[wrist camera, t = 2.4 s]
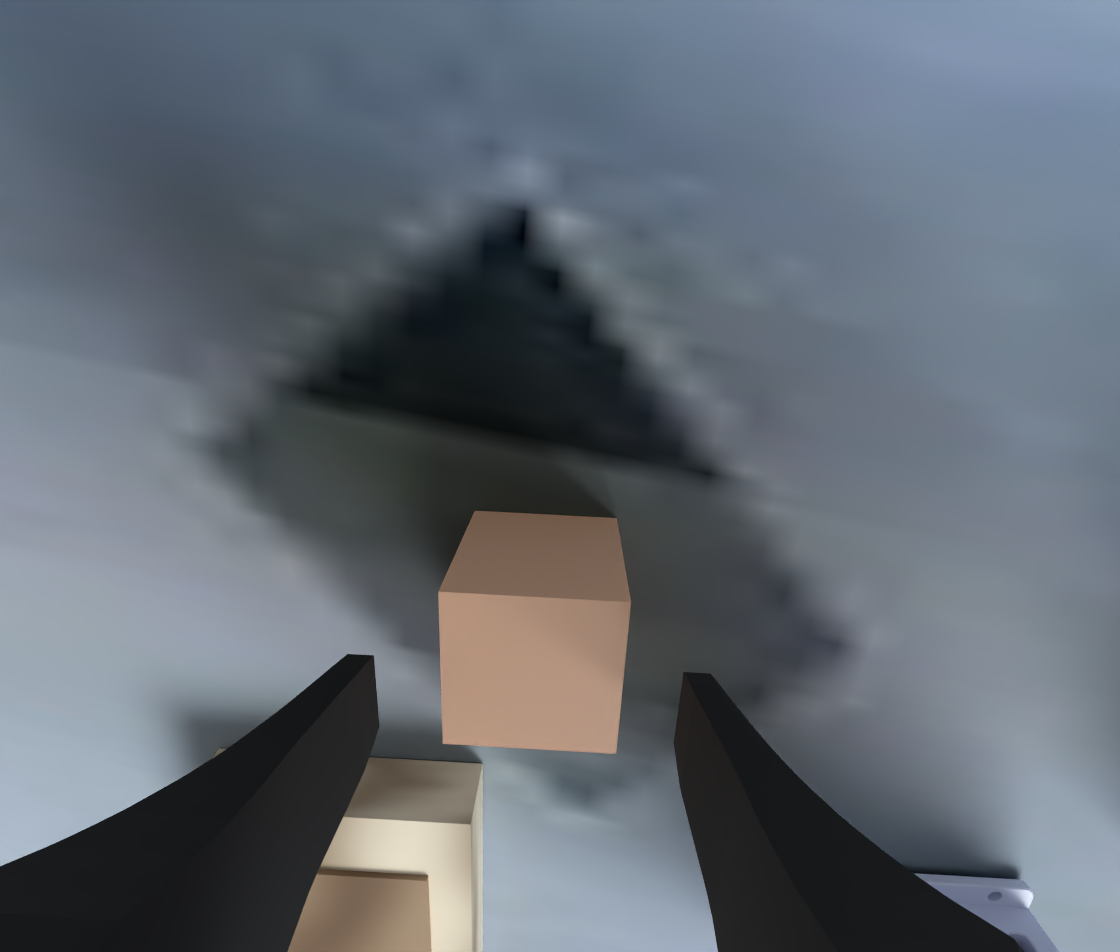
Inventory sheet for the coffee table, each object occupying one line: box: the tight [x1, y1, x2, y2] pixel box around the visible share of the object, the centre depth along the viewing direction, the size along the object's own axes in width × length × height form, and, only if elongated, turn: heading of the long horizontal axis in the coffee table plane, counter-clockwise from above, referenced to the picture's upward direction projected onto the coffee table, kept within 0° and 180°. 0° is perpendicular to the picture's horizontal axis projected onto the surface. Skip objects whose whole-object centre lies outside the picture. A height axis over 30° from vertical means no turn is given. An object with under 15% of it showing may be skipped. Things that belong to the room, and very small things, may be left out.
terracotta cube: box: [438, 511, 631, 754], centre depth 16 cm, size 4×4×5 cm
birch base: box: [210, 749, 483, 952], centre depth 22 cm, size 10×12×3 cm
